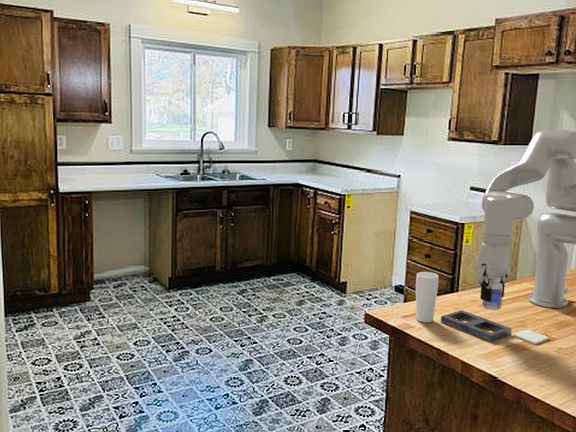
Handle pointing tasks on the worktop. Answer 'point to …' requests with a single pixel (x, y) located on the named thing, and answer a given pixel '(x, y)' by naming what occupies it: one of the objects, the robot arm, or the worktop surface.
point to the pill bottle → (494, 295)
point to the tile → (531, 336)
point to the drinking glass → (426, 296)
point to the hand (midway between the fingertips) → (492, 297)
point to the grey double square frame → (476, 325)
